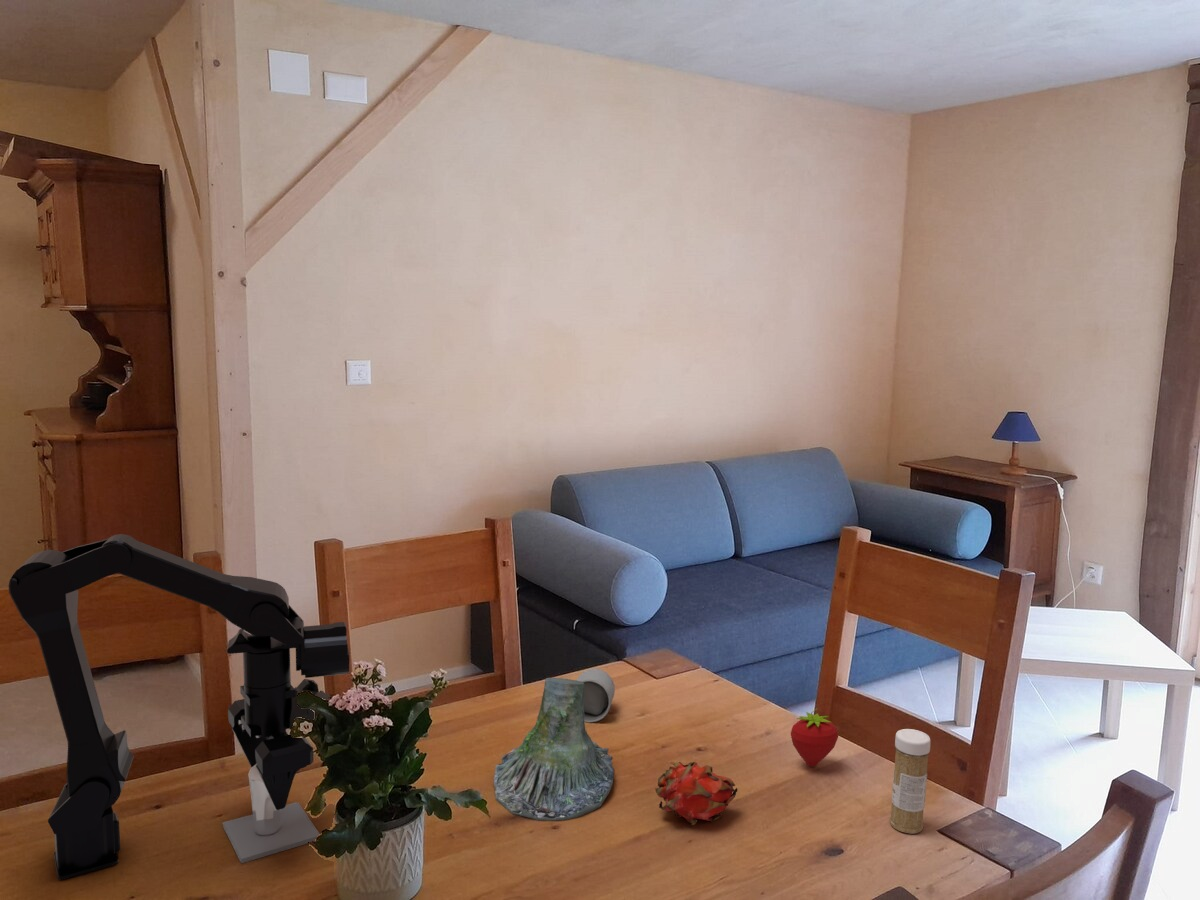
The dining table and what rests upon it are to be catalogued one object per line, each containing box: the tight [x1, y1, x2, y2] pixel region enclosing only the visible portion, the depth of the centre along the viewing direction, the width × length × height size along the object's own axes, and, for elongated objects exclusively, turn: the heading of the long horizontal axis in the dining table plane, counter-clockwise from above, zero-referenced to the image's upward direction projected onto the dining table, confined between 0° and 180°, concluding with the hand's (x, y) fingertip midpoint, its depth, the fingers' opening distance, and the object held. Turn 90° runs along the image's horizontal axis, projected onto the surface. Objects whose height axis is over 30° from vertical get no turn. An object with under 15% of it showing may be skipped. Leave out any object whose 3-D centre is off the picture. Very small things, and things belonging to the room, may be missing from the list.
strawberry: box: [790, 708, 839, 768], centre depth 142 cm, size 6×8×10 cm
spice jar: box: [889, 728, 931, 834], centre depth 125 cm, size 5×5×14 cm
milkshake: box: [248, 764, 282, 835], centre depth 120 cm, size 4×5×10 cm
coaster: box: [222, 801, 320, 864], centre depth 121 cm, size 10×10×1 cm
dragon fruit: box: [654, 761, 739, 826], centre depth 127 cm, size 8×8×12 cm
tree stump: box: [493, 677, 615, 822], centre depth 136 cm, size 18×20×18 cm
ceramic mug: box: [576, 668, 616, 724], centre depth 160 cm, size 11×8×8 cm
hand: (270, 793), depth 120 cm, fingers open, 9 cm apart
